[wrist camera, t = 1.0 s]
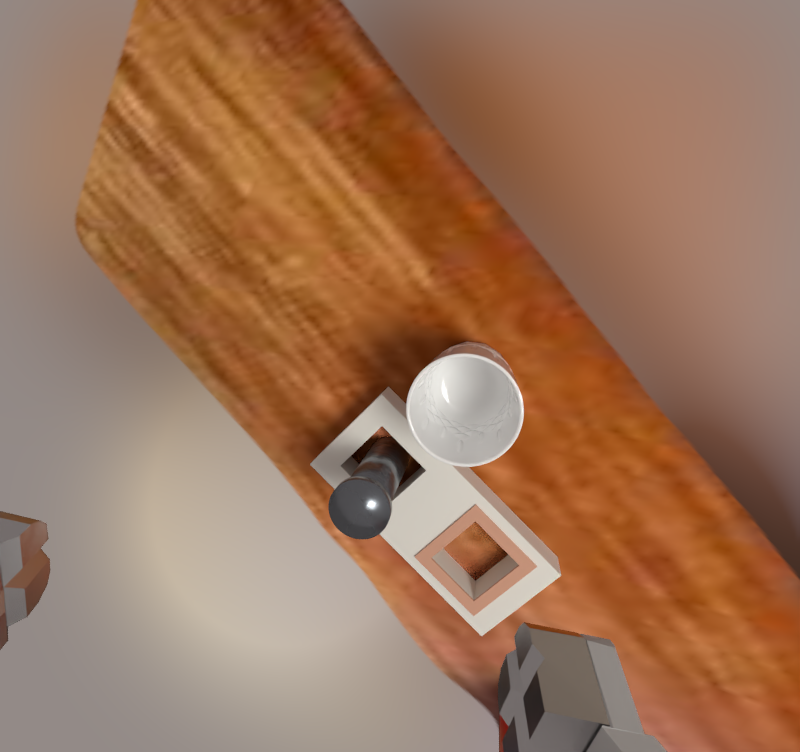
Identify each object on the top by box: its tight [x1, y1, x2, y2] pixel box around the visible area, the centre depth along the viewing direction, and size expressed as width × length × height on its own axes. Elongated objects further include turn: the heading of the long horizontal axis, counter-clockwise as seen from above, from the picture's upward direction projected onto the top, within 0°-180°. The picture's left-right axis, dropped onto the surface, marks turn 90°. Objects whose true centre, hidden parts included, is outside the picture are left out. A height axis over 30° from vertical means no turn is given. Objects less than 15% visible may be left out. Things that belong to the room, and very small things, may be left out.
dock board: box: [310, 386, 561, 636], centre depth 49 cm, size 21×9×3 cm, turn 46°
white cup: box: [406, 341, 524, 467], centre depth 43 cm, size 8×8×10 cm
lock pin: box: [329, 437, 410, 539], centre depth 45 cm, size 4×4×11 cm
